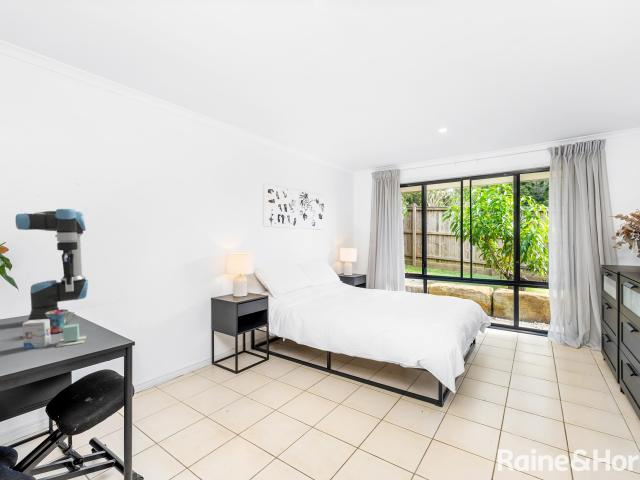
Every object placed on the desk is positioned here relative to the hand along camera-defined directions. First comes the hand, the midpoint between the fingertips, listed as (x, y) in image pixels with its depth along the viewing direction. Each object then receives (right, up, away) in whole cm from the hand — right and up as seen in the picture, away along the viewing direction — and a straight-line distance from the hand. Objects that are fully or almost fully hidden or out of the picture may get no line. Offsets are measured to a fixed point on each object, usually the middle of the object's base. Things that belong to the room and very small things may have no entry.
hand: (69, 291), depth 150 cm
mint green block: (0, -23, +1) cm, 23 cm away
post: (0, -24, +1) cm, 24 cm away
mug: (-18, -24, +17) cm, 34 cm away
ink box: (-11, -25, -5) cm, 28 cm away
